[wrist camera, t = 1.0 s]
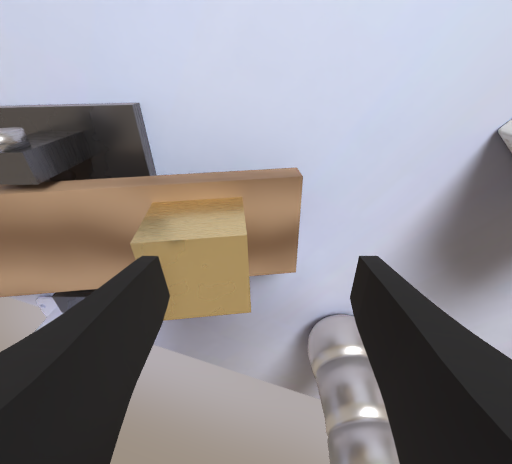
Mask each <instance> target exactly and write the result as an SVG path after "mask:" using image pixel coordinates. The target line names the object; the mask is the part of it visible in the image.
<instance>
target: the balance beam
mask: <svg viewBox="0 0 512 464" xmlns="http://www.w3.org/2000/svg"><path fill="white" fill-rule="evenodd" d="M302 181H303V176H302V175H301V173H300V172H299V170H298V169H297V168H282V169H265V170H247V171H230V172H212V173H194V174H177V175H159V176H141V177H124V178H106V179H89V180H71V181H53V182H42V183H40V184H38V185H0V297H7V296H19V295H31V294H42V293H54V292H66V291H78V290H90V289H98V288H99V287H101V286H102V285H103V284H105V283H106V282H107V281H109V280H110V279H111V278H113V277H114V276H115V275H117V274H118V273H119V272H121V271H122V270H123V269H124V268H126V267H127V266H128V265H130V264H131V263H133V262H134V261H135V260H136V259H135V257H134V254H133V251H132V248H131V245H130V243H131V241H132V239H133V237H134V235H135V234H136V232H137V230H138V228H139V226H140V224H141V223H142V221H143V219H144V217H145V215H146V213H147V211H148V210H149V208H150V206H151V204H152V203H153V202H169V201H185V200H201V199H216V198H232V197H242V198H243V207H244V215H245V223H246V231H247V244H248V264H249V276H257V275H269V274H280V273H292V272H296V261H297V248H298V235H299V221H300V208H301V194H302Z"/></svg>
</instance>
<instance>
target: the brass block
mask: <svg viewBox="0 0 512 464" xmlns="http://www.w3.org/2000/svg"><path fill="white" fill-rule="evenodd" d="M130 245H131V248H132V251H133V254H134V257H135V259H136V260H137V259H138V258H140V257H141V256H158V257H159V260H160V264H161V267H162V270H163V274H164V277H165V280H166V284H167V287H168V290H169V294H170V298H169V302H168V306H167V310H166V313H165V316H164V320H174V319H185V318H195V317H206V316H217V315H227V314H238V313H249V312H251V302H250V283H249V264H248V244H247V231H246V223H245V215H244V207H243V198H242V197H232V198H216V199H201V200H185V201H169V202H153V203H152V204H151V206H150V208H149V210H148V211H147V213H146V215H145V217H144V219H143V221H142V223H141V224H140V226H139V228H138V230H137V232H136V234H135V235H134V237H133V239H132V241H131V243H130Z"/></svg>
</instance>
